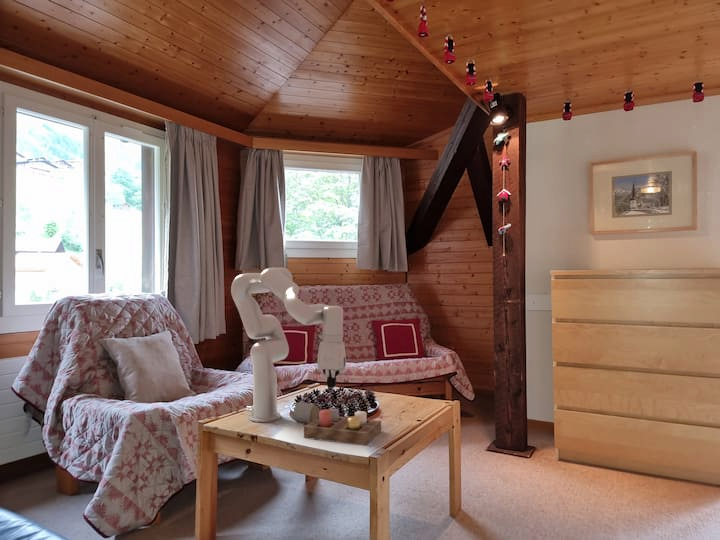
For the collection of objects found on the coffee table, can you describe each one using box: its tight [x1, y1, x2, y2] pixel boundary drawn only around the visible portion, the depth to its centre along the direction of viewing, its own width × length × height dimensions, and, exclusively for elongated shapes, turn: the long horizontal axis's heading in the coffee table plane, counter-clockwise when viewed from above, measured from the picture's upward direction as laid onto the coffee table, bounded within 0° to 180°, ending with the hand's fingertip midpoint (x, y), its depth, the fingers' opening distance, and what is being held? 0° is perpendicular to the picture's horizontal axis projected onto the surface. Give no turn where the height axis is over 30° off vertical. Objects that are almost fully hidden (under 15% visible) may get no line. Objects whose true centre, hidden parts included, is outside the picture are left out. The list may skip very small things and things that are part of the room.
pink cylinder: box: [319, 408, 332, 427], centre depth 186 cm, size 4×4×5 cm
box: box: [303, 416, 382, 446], centre depth 188 cm, size 24×16×4 cm, turn 70°
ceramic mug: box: [293, 401, 320, 424], centre depth 205 cm, size 11×8×8 cm
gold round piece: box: [348, 415, 360, 431], centre depth 183 cm, size 4×4×5 cm
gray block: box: [328, 408, 340, 422], centre depth 193 cm, size 4×4×5 cm
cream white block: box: [354, 410, 368, 425], centre depth 189 cm, size 4×4×5 cm
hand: (331, 387), depth 193 cm, fingers closed
